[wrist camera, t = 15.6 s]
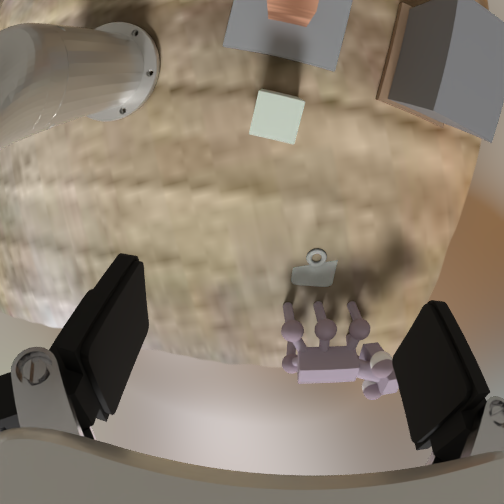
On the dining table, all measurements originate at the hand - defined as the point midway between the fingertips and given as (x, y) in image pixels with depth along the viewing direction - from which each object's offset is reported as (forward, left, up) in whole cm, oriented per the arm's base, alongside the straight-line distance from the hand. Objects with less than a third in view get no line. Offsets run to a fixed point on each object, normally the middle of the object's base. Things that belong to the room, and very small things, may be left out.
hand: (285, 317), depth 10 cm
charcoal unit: (+14, +15, -28) cm, 34 cm away
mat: (-2, +16, -28) cm, 32 cm away
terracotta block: (-2, +16, -27) cm, 31 cm away
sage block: (-1, +4, -28) cm, 28 cm away
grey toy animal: (+17, -24, -28) cm, 41 cm away
